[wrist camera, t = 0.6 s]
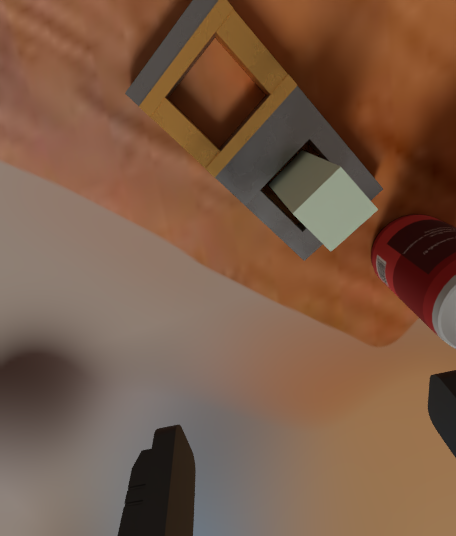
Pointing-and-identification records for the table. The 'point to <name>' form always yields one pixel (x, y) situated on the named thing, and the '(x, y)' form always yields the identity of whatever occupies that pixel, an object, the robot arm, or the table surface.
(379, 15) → the table surface
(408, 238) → the canned food
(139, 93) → the grey yellow flat board
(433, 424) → the robot arm
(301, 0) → the table surface
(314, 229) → the sage block
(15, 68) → the table surface
